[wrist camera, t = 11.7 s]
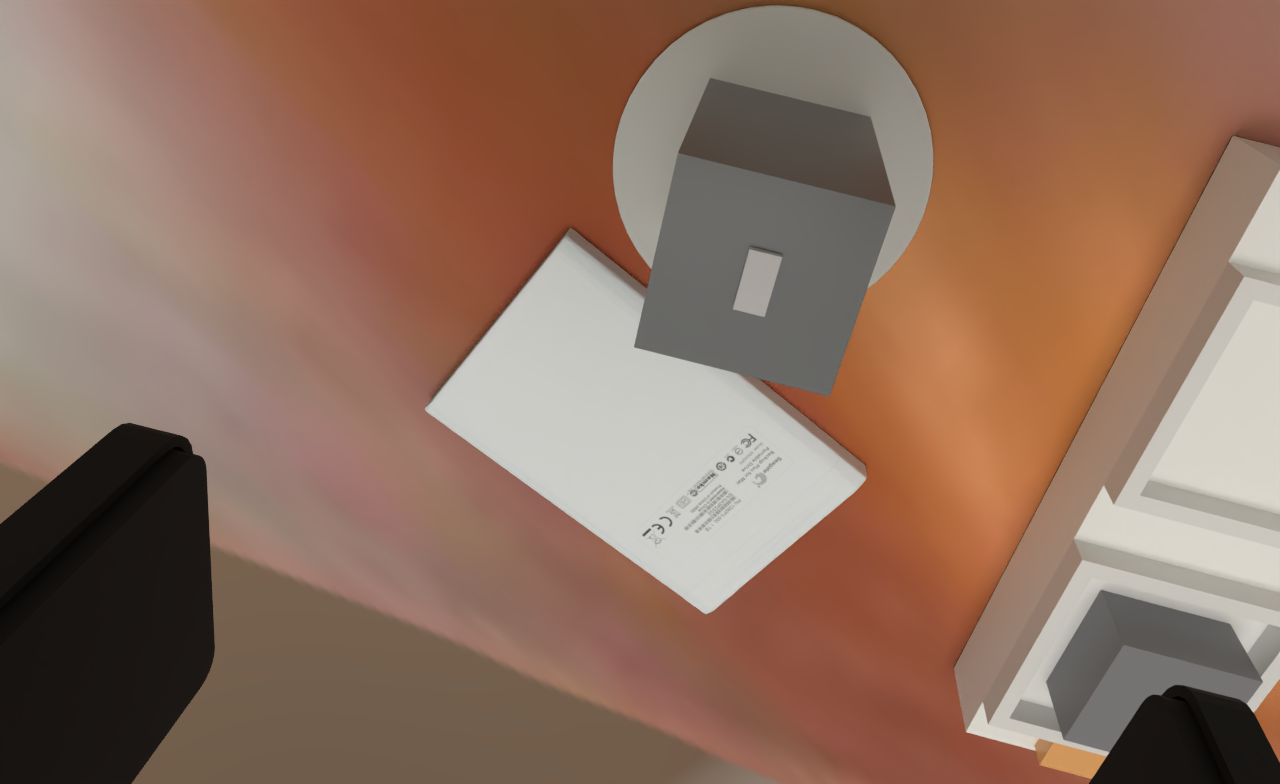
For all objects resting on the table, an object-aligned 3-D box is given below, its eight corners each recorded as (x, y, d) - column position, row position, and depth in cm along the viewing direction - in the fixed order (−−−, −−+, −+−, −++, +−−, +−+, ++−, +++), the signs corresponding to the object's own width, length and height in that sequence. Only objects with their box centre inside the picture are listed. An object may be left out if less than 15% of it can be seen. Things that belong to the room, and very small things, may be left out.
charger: (710, 77, 26) (677, 154, 19) (870, 116, 26) (896, 209, 19) (674, 230, 29) (632, 350, 22) (822, 267, 29) (829, 400, 21)
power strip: (1363, -115, 23) (1510, -110, 18) (1660, -42, 23) (1886, -18, 18) (953, 668, 35) (977, 790, 31) (1141, 718, 35) (1193, 848, 31)
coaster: (651, -32, 26) (649, -31, 25) (981, 51, 26) (984, 54, 25) (589, 274, 30) (586, 279, 30) (870, 347, 30) (871, 353, 30)
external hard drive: (575, 220, 30) (866, 456, 33) (437, 390, 34) (707, 592, 36) (564, 237, 29) (869, 483, 31) (420, 413, 32) (703, 621, 35)
